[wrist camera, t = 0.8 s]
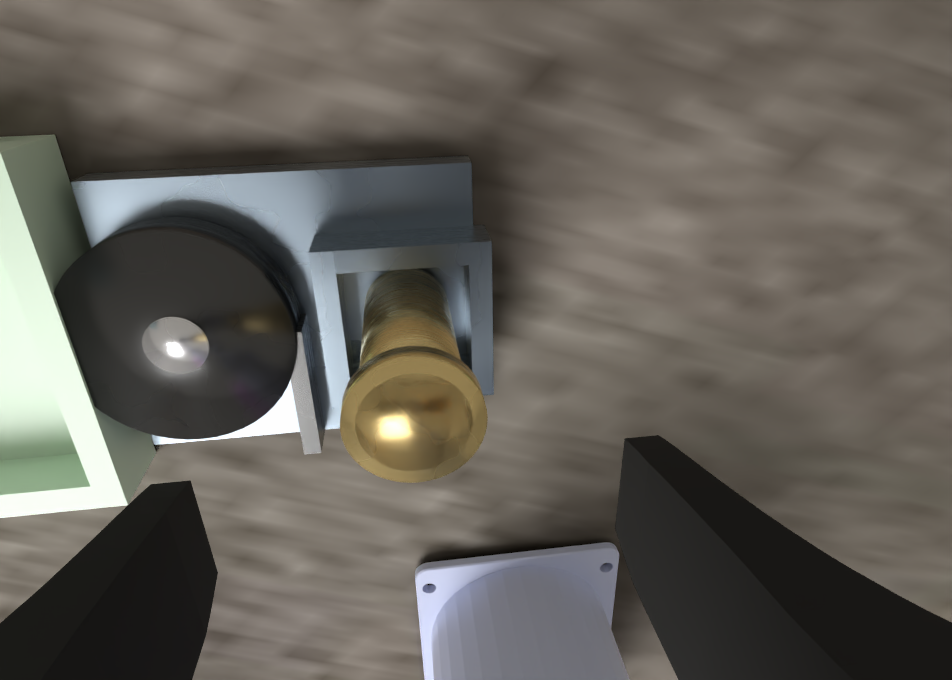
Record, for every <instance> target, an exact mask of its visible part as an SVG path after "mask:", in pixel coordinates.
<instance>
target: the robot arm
mask: <svg viewBox="0 0 952 680" xmlns="http://www.w3.org/2000/svg"><path fill="white" fill-rule="evenodd" d="M615 529H616V532H617V536H618V539H619V542H620V545H621V548H622V551H623V555H624V558H625V561H626V564H627V567H628V570H629V572H630V575H631V578H632V581H633V584H634V586H635V588H636V590H637V593H638V595H639V597H640V599H641V601H642V603H643V606H644V608H645V610H646V612H647V614H648V616H649V618H650V621H651V623H652V625H653V627H654V629H655V631H656V633H657V635H658V638H659V640H660V642H661V644H662V646H663V648H664V650H665V652H666V654H667V656H668V659H669V661H670V663H671V665H672V667H673V669H674V671H675V673H676V675H677V678H678V680H952V623H951V622H949V621H947V620H945V619H943V618H941V617H939V616H937V615H935V614H933V613H931V612H929V611H927V610H925V609H923V608H921V607H919V606H918V605H916V604H914V603H912V602H910V601H908V600H906V599H904V598H902V597H900V596H899V595H897V594H895V593H893V592H891V591H890V590H888V589H886V588H884V587H883V586H881V585H879V584H877V583H875V582H874V581H872V580H870V579H868V578H867V577H865V576H863V575H861V574H860V573H858V572H856V571H854V570H852V569H851V568H849V567H847V566H846V565H844V564H842V563H841V562H839V561H837V560H836V559H834V558H832V557H831V556H829V555H828V554H826V553H824V552H823V551H821V550H820V549H818V548H817V547H815V546H813V545H812V544H810V543H809V542H807V541H806V540H804V539H803V538H801V537H800V536H798V535H797V534H795V533H793V532H792V531H790V530H789V529H787V528H786V527H784V526H783V525H781V524H780V523H778V522H777V521H776V520H774V519H773V518H771V517H770V516H768V515H767V514H765V513H764V512H762V511H761V510H760V509H758V508H757V507H755V506H754V505H753V504H751V503H750V502H748V501H747V500H746V499H744V498H743V497H741V496H740V495H739V494H737V493H736V492H735V491H733V490H732V489H731V488H729V487H728V486H726V485H725V484H724V483H722V482H721V481H720V480H718V479H717V478H716V477H714V476H713V475H712V474H710V473H709V472H708V471H706V470H705V469H704V468H702V467H701V466H700V465H698V464H697V463H696V462H695V461H693V460H692V459H691V458H689V457H688V456H687V455H685V454H684V453H683V452H681V451H680V450H679V449H677V448H676V447H675V446H673V445H672V444H670V443H669V442H668V441H666V440H665V439H663V438H662V437H661V436H659V435H657V436H647V437H637V438H626V439H625V441H624V451H623V460H622V469H621V479H620V488H619V497H618V507H617V516H616V525H615ZM604 563H606V564H604ZM618 563H619V552H618V550H617V547H616V546H615V545H614V544H612V543H610V542H604V543H595V544H586V545H577V546H568V547H559V548H551V549H542V550H533V551H524V552H515V553H507V554H498V555H489V556H480V557H471V558H463V559H454V560H445V561H436V562H427V563H423V564H421V565H420V566H418V567H417V569H416V571H415V582H416V592H417V603H418V613H419V624H420V635H421V645H422V656H423V667H424V677H425V680H630V679H629V676H628V674H627V671H626V668H625V666H624V663H623V660H622V657H621V655H620V652H619V649H618V647H617V644H616V641H615V638H614V636H613V633H612V630H611V625H612V616H613V607H614V598H615V589H616V580H617V572H618ZM603 564H604V565H603ZM217 574H218V572H217V569H216V565H215V562H214V558H213V555H212V552H211V548H210V545H209V542H208V538H207V535H206V531H205V528H204V525H203V521H202V518H201V515H200V511H199V508H198V504H197V501H196V498H195V494H194V491H193V488H192V484H191V481H181V482H171V483H161V484H151V485H150V486H149V487H148V488H146V489H145V490H144V491H143V492H142V493H141V494H140V495H139V496H138V497H136V498H135V499H134V500H133V501H132V502H131V503H130V504H129V505H128V506H127V507H126V508H125V509H124V510H123V511H122V512H121V513H120V514H119V515H117V516H116V517H115V518H114V519H113V520H112V521H111V522H110V523H109V524H108V525H107V526H106V527H105V528H104V529H103V530H102V531H101V532H100V533H99V534H98V535H97V536H96V537H95V538H94V539H93V540H92V541H90V542H89V543H88V544H87V545H86V546H85V547H84V548H83V549H82V550H81V551H80V552H79V553H78V554H77V555H76V556H75V557H73V558H72V559H71V560H70V561H69V562H68V563H67V564H66V565H65V566H64V567H63V568H62V569H61V570H60V571H59V572H57V573H56V574H55V575H54V576H53V577H52V578H51V579H50V580H49V581H48V582H47V583H46V584H45V585H44V586H42V587H41V588H40V589H39V590H38V591H37V592H36V593H35V594H33V595H32V596H31V597H30V598H29V599H28V600H27V601H25V602H24V603H23V604H22V605H21V606H20V607H18V608H17V609H16V610H15V611H14V612H13V613H12V614H10V615H9V616H8V617H7V618H6V619H5V620H4V621H2V622H1V623H0V680H192V678H193V675H194V671H195V668H196V665H197V662H198V659H199V656H200V653H201V649H202V646H203V643H204V640H205V636H206V632H207V627H208V622H209V618H210V613H211V608H212V602H213V597H214V591H215V585H216V580H217ZM426 584H431V585H426Z"/></svg>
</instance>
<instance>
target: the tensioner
mask: <svg viewBox="0 0 952 680" xmlns="http://www.w3.org/2000/svg"><path fill="white" fill-rule="evenodd" d="M71 185H72V189H73V192H74V195H75V198H76V201H77V204H78V207H79V211H80V214H81V217H82V220H83V223H84V226H85V229H86V233H87V236H88V239H89V242H90V245H91V249H90V250H88V251H87V252H86V253H84V254H83V255H82V256H81V257H80V258H78V259H77V260H76V261H75V262H74V263H73V264H72V265H71V266H70V267H69V268H68V269H67V270H66V272H65V273H64V274H63V276H62V277H61V279H60V281H59V282H58V284H57V286H56V288H55V291H54V295H55V298H56V301H57V304H58V307H59V309H60V312H61V315H62V318H63V320H64V323H65V326H66V329H67V332H68V334H69V337H70V340H71V343H72V345H73V348H74V351H75V354H76V357H77V359H78V362H79V365H80V368H81V370H82V373H83V376H84V379H85V382H86V384H87V387H88V390H89V393H90V395H91V398H92V401H93V404H94V407H96V408H97V409H98V410H100V411H101V412H102V413H104V414H106V415H107V416H109V417H110V418H112V419H114V420H116V421H118V422H120V423H122V424H124V425H126V426H128V427H130V428H133V429H136V430H138V431H141V432H144V433H148V434H151V437H152V440H153V443H154V445H158V444H169V443H180V442H191V441H202V440H213V439H224V438H235V437H247V436H258V435H269V434H280V433H291V432H300V434H301V439H302V445H303V450H304V454H313V453H321V452H322V446H323V439H324V433H325V429H335V428H340V416H341V407H342V399H343V395H344V391H345V389H346V386H347V384H348V382H349V380H350V379H351V377H352V376H353V374H354V373H355V372H356V371H357V370H358V369H359V368H360V355H361V343H362V330H363V318H364V305H365V298H366V294H367V292H368V290H369V288H370V286H371V285H372V283H373V282H374V281H375V280H376V279H377V278H378V277H380V276H381V275H382V274H384V273H386V272H388V271H390V270H403V269H420V270H422V271H425V272H427V273H429V274H430V275H432V276H433V277H434V278H436V279H437V280H438V281H439V283H440V284H441V285H442V287H443V289H444V291H445V293H446V296H447V300H448V305H449V309H450V314H451V318H452V323H453V327H454V332H455V336H456V341H457V345H458V350H459V354H460V359H461V361H462V362H463V363H465V364H466V365H467V366H468V367H469V368H470V369H471V371H472V372H473V373H474V375H475V376H476V378H477V380H478V382H479V384H480V386H481V390H482V394H483V395H494V388H493V300H492V241H491V239H490V237H489V235H488V232H487V230H486V228H485V226H484V225H473V204H472V164H471V161H470V159H469V158H468V156H446V157H425V158H404V159H383V160H362V161H341V162H319V163H298V164H277V165H256V166H235V167H214V168H192V169H171V170H150V171H129V172H108V173H88V174H86V175H84V176H82V177H80V178H77V179H75V180H73V181H71Z"/></svg>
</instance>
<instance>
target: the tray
mask: <svg viewBox="0 0 952 680" xmlns="http://www.w3.org/2000/svg"><path fill="white" fill-rule="evenodd" d="M90 249H91V247H90V244H89V240H88V237H87V234H86V231H85V228H84V225H83V222H82V218H81V215H80V212H79V209H78V206H77V203H76V200H75V196H74V193H73V190H72V187H71V184H70V181H69V178H68V174H67V171H66V168H65V165H64V162H63V159H62V156H61V153H60V149H59V146H58V143H57V140H56V137H55V135H31V136H6V137H0V518H4V517H14V516H24V515H34V514H44V513H54V512H64V511H74V510H85V509H95V508H105V507H115V506H125V505H128V504H129V502H130V500H131V498H132V497H133V495H134V493H135V491H136V489H137V487H138V486H139V484H140V482H141V480H142V478H143V476H144V474H145V473H146V471H147V469H148V467H149V465H150V463H151V462H152V460H153V458H154V456H155V454H156V451H155V447H154V444H153V441H152V438H151V435H150V434H148V433H144V432H141V431H138V430H136V429H133V428H130V427H128V426H126V425H124V424H122V423H120V422H118V421H116V420H114V419H112V418H110V417H109V416H107V415H106V414H104V413H102V412H101V411H100V410H98V409H97V408H96V407H94V404H93V401H92V398H91V395H90V393H89V390H88V387H87V384H86V382H85V379H84V376H83V373H82V370H81V368H80V365H79V362H78V359H77V357H76V354H75V351H74V348H73V345H72V343H71V340H70V337H69V334H68V332H67V329H66V326H65V323H64V320H63V318H62V315H61V312H60V309H59V307H58V304H57V301H56V298H55V295H54V291H55V288H56V286H57V284H58V282H59V281H60V279H61V277H62V276H63V274H64V273H65V272H66V270H67V269H68V268H69V267H70V266H71V265H72V264H73V263H74V262H75V261H76V260H77V259H78V258H80V257H81V256H82V255H83V254H84V253H86V252H87V251H88V250H90Z"/></svg>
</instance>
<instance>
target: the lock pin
mask: <svg viewBox="0 0 952 680" xmlns="http://www.w3.org/2000/svg"><path fill="white" fill-rule="evenodd" d="M486 428H487V409H486V405H485V401H484V398H483V394H482V390H481V386H480V384H479V382H478V380H477V378H476V376H475V375H474V373H473V372H472V371H471V369H470V368H469V367H468V366H467V365H466V364H465V363H463V362H462V361H461V359H460V354H459V350H458V345H457V341H456V336H455V332H454V327H453V323H452V318H451V314H450V309H449V305H448V300H447V296H446V293H445V291H444V289H443V287H442V285H441V284H440V283H439V281H438V280H437V279H436V278H434V277H433V276H432V275H430V274H429V273H427V272H425V271H422V270H420V269H403V270H390V271H388V272H386V273H384V274H382V275H381V276H380V277H378V278H377V279H376V280H375V281H374V282H373V283H372V285H371V286H370V288H369V290H368V292H367V294H366V298H365V305H364V318H363V330H362V343H361V355H360V368H359V369H358V370H357V371H356V372H355V373H354V374H353V376H352V377H351V379H350V380H349V382H348V384H347V386H346V389H345V391H344V395H343V399H342V407H341V416H340V432H341V436H342V440H343V442H344V445H345V447H346V449H347V451H348V452H349V454H350V455H351V456H352V458H353V459H354V460H355V461H356V462H357V463H358V464H359V465H360V466H362V467H363V468H364V469H366V470H367V471H369V472H371V473H373V474H374V475H377V476H379V477H382V478H384V479H388V480H392V481H398V482H409V483H412V482H424V481H429V480H433V479H437V478H440V477H443V476H445V475H447V474H449V473H451V472H453V471H455V470H456V469H458V468H460V467H461V466H462V465H464V464H465V463H466V462H467V461H468V460H469V459H470V458H471V457H472V456H473V455H474V454H475V452H476V451H477V450H478V448H479V446H480V445H481V443H482V441H483V438H484V435H485V432H486Z"/></svg>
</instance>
